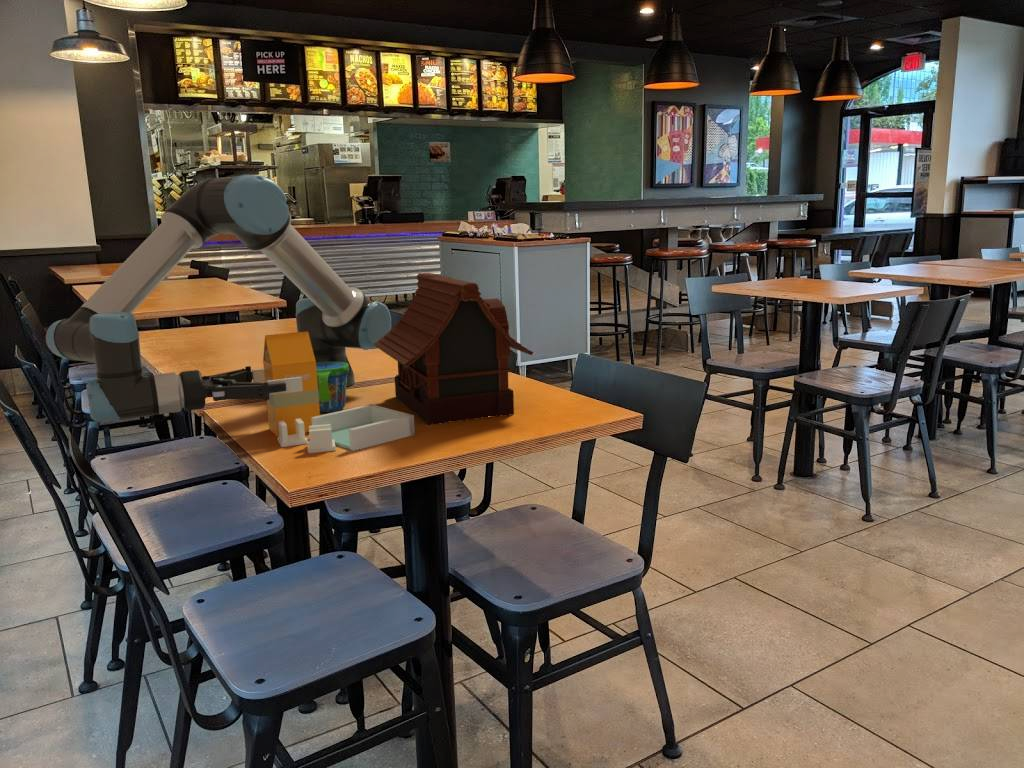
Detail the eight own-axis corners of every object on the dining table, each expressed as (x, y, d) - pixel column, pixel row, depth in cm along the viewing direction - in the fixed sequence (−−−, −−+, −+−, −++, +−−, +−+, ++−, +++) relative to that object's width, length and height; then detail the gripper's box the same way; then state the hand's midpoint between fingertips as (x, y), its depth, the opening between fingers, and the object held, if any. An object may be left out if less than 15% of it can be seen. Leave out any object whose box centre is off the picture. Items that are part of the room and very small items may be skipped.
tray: (372, 422, 163) (371, 404, 162) (414, 434, 153) (413, 415, 152) (312, 436, 154) (311, 417, 153) (353, 451, 144) (352, 430, 143)
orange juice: (321, 430, 158) (314, 333, 154) (277, 437, 154) (268, 337, 150) (310, 422, 165) (303, 329, 161) (268, 428, 161) (259, 333, 156)
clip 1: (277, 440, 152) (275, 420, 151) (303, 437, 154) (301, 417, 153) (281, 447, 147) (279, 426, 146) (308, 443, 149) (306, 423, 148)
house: (537, 414, 167) (535, 279, 161) (409, 430, 157) (401, 286, 151) (482, 384, 199) (479, 270, 193) (373, 395, 189) (365, 275, 182)
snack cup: (311, 402, 183) (307, 359, 181) (356, 400, 184) (353, 358, 182) (297, 419, 168) (293, 372, 166) (346, 417, 169) (342, 371, 166)
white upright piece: (308, 453, 143) (306, 432, 142) (307, 445, 148) (306, 425, 147) (335, 450, 144) (334, 429, 143) (334, 443, 149) (333, 423, 148)
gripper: (174, 398, 158) (279, 385, 168) (192, 425, 137) (311, 408, 147) (170, 362, 157) (276, 351, 167) (187, 383, 135) (308, 369, 146)
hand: (293, 378), depth 157 cm, fingers open, 13 cm apart
